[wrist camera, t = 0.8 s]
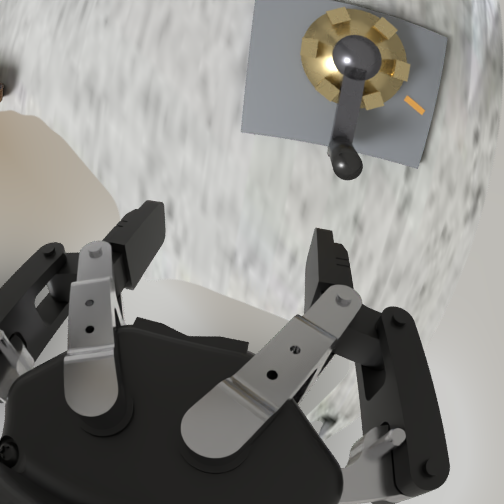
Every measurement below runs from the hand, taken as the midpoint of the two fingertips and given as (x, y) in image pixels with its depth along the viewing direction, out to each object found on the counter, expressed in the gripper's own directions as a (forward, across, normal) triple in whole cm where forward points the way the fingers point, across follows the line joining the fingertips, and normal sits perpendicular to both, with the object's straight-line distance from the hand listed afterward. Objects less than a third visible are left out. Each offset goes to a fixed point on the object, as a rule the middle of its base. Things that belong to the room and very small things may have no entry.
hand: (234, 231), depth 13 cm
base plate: (+22, -6, -7) cm, 24 cm away
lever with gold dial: (+20, -7, -7) cm, 22 cm away
